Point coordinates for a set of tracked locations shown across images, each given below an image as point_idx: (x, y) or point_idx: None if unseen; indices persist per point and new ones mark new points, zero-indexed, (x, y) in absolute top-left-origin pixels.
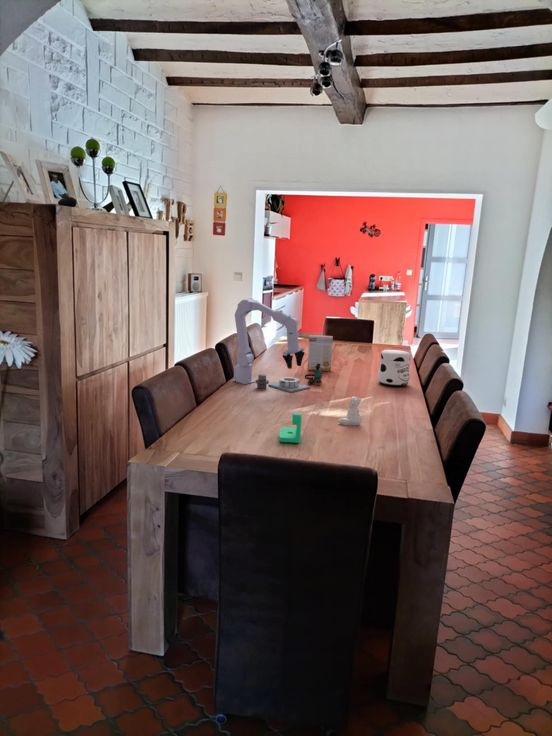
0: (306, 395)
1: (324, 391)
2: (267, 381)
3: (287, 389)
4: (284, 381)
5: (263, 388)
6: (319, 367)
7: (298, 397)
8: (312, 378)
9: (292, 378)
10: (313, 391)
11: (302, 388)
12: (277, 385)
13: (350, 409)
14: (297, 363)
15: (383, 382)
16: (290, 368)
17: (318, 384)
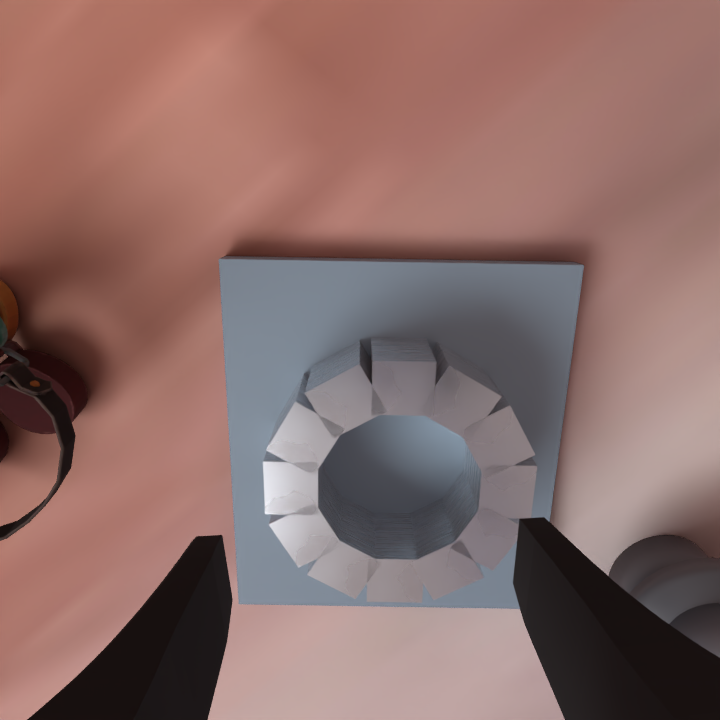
0: (536, 34)
1: (161, 10)
2: (689, 589)
3: (567, 337)
4: (532, 464)
5: (693, 546)
6: None
7: (703, 36)
8: (21, 372)
9: (318, 501)
10: (293, 117)
11: (363, 260)
12: None
13: None
14: (222, 634)
15: None
16: (548, 527)
17: (1, 285)
